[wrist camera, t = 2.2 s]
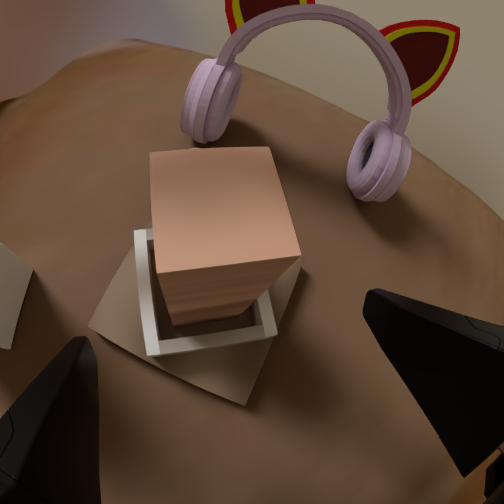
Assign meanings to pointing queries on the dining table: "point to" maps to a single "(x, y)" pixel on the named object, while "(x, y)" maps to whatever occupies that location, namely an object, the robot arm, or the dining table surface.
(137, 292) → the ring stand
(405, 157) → the headphones
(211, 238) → the peg
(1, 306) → the milk carton
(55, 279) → the dining table surface
